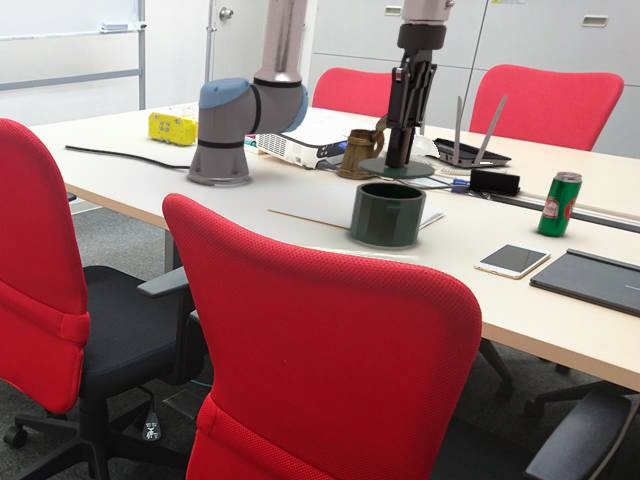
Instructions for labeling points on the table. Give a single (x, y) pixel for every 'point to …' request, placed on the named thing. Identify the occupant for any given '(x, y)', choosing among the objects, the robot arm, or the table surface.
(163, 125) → the yellow toy chassis
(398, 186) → the tin
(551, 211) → the soda can
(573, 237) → the table surface
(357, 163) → the wooden mug
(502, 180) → the black box
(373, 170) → the lid
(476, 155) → the wireless router
